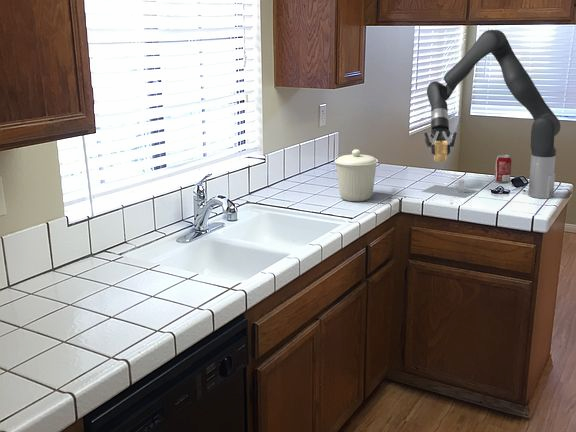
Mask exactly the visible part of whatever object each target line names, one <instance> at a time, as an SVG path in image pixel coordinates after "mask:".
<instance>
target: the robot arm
mask: <svg viewBox="0 0 576 432" xmlns="http://www.w3.org/2000/svg"><path fill="white" fill-rule="evenodd" d="M507 38H508V37H507V35H506V34H505V33H504V32H503V31H501V30H499V29H488V30H485V31H484V32H482V33H481V34H480V36H479V37H478V38H477V40H476V41H475V43H474V44H473V45H472V46H471V48H470V49H469V50H468V51H467V52H466V53H465V55H464V56H463V57H462V58H461V59H460V60H459V61H458V62H456V63H455V65H453V66H452V67H451V68H450V69H449V70H448V72H446V73H445V74H444V76H443V80H444V82H445V83H446V84H445V85H444V84H442V83H441V82H439V81H431V82H430V83H428V86H427V88H426V95H427V99H428V102H429V105H430V109H431V110H430V113H431V115H430V132H424V135H423V138H424V141H425V145H426V146H427V148H431V149H430V150H431V154H432V155H433V156H434V155H435V145H434V144H435V141H447V143H448V145H447V156H449V154H450V153H451V148H453V147H455V144H456V140H457V135H458V134H457V132H456V131H455V132H454V133H453V132H451V130H450V125H449V124H450V123H449V119H450V118H449V113H448V112H449V111H448V103H447V100H449V99H450V97H451V95H452V93H453V92H454V90H455V89H456V87H457V86H458V85H459V84H461V82H462V81H463V80H465V78H466V77H467V76H468V75H469V74H470V73H471V72H472V70H473V69H474V67H475V66H476V65H477V64H478V62H480V61H481V60H482V59H483V58H485V57H486V56H487V55H489V54H492V56H493V57H494V58H495V60H496V61H497V62H498V65H499V66H500V69H501V72H502V73H501V74H502V77H503V80H504V83H505V85H506V87H507V88H508V90H509V92H510V93H511V95H512V96H513V97H514V99H515V100H516V102H518V103H519V104H520V105H522V106H523V107H524V108H525V109H526V110H527V111H528V112H529V114H530V115H531V117H532V118H533V120H534V121H533V123H532V125H531V129H530V151H531V155H530V156H531V157H530V166H529V167H530V168H529V180H528V190H527V191H528V193H527V195H528V196H529V197H532V198H535V199H550V198H552V197H553V196H554V191H555V180H556V173H555V167H556V166H555V165H556V154H557V149H556V147H555V136H557V135H558V134H559V133H560V131H561V122H560V120H559V118H558V117H557V116H556V115H555V113H554V112H553V110H551V108H550V107H549V105H548V104H547V103H546V102H545V100H544V98H543V97H542V95H541V92H540V91H539V89H538V88H537V86H536V85H535V83H534V81H533V80H532V78H531V76H530V75H529V74H528V72H527V70H526V69H525V68H524V66H523V64H522V63H521V62H520V60H519V59H518V57H517V56H516V54H515V53H514V50H513V48H512V46H511V45H510V43H509V40H508V39H507ZM430 138H431V139H432V142H431V141H430ZM449 138H451V139H452V140H451V142H450V141H449Z"/></svg>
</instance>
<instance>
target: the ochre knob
mask: <svg viewBox="0 0 576 432" xmlns="http://www.w3.org/2000/svg"><path fill="white" fill-rule="evenodd" d="M434 145H435V155H433V161H434V162H442V163H443V162H447V161H448V155H447V145H448V143H447V141H435V144H434Z"/></svg>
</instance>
